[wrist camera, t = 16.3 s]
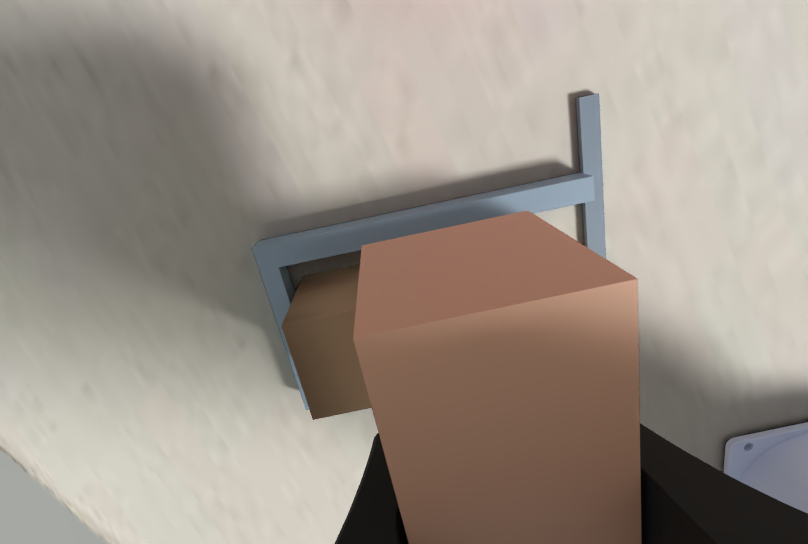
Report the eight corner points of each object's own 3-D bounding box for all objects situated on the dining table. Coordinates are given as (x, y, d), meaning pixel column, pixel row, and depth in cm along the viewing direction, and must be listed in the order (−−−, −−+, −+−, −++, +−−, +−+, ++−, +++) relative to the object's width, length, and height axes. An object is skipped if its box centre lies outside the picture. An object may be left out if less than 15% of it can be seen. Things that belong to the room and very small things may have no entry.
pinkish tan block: (527, 210, 10) (637, 278, 6) (558, 517, 14) (643, 702, 9) (361, 245, 10) (353, 339, 6) (434, 543, 14) (462, 739, 9)
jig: (595, 93, 18) (610, 92, 16) (608, 383, 22) (620, 397, 21) (236, 170, 18) (226, 174, 17) (325, 442, 22) (322, 459, 21)
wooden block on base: (544, 223, 20) (598, 258, 15) (551, 303, 21) (603, 358, 16) (303, 275, 20) (281, 325, 15) (326, 351, 21) (313, 419, 16)
